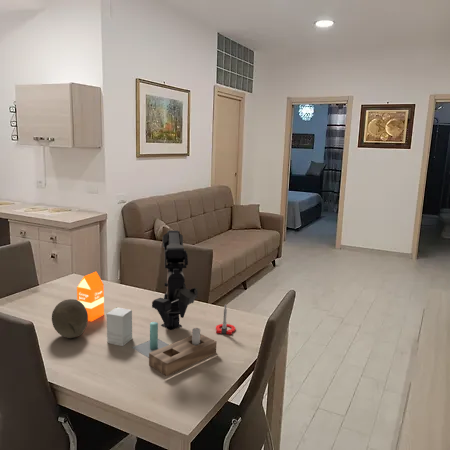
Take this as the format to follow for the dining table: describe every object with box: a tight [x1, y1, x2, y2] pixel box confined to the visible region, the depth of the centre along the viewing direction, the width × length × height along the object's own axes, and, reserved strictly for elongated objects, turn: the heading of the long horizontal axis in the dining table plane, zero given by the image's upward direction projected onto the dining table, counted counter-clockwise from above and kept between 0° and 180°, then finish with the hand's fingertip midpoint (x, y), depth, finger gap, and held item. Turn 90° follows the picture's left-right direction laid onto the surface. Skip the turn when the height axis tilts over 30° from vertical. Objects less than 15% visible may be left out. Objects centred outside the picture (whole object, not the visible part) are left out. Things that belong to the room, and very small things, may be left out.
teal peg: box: [149, 321, 159, 350], centre depth 163 cm, size 3×3×10 cm
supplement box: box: [106, 306, 133, 347], centre depth 168 cm, size 7×7×13 cm
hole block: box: [148, 333, 217, 377], centre depth 156 cm, size 10×24×5 cm, turn 137°
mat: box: [131, 338, 170, 359], centre depth 164 cm, size 12×12×1 cm
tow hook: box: [215, 304, 236, 335], centre depth 182 cm, size 8×13×9 cm
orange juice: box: [76, 271, 105, 322], centre depth 189 cm, size 8×9×20 cm
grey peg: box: [191, 327, 201, 346], centre depth 160 cm, size 3×3×10 cm
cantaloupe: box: [51, 299, 89, 339], centre depth 170 cm, size 14×14×15 cm
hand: (174, 321), depth 159 cm, fingers open, 9 cm apart
